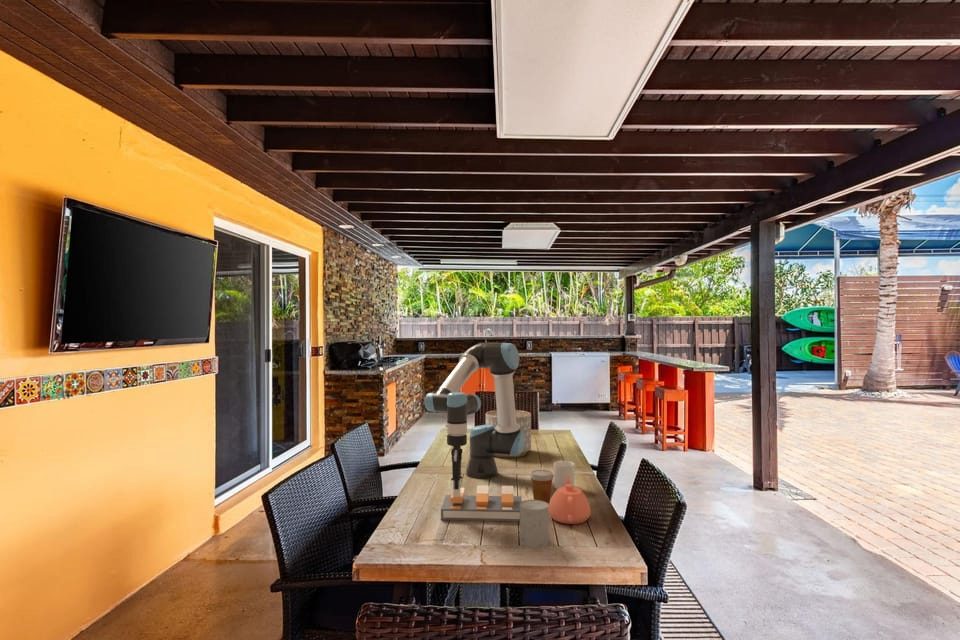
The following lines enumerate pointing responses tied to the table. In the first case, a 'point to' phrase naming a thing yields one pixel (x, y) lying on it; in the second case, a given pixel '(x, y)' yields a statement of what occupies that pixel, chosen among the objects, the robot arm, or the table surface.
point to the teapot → (569, 505)
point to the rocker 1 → (458, 499)
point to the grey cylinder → (534, 523)
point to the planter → (521, 419)
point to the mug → (563, 473)
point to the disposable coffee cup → (541, 484)
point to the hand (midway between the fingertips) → (456, 496)
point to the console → (480, 509)
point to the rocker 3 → (507, 496)
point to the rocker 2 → (482, 495)
